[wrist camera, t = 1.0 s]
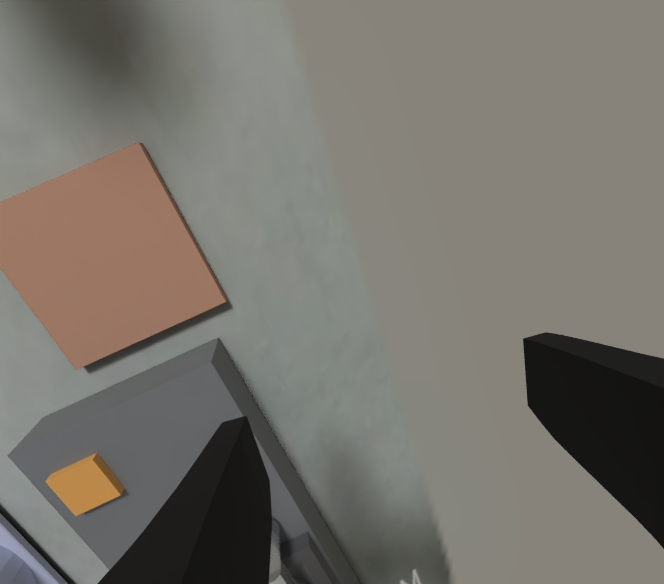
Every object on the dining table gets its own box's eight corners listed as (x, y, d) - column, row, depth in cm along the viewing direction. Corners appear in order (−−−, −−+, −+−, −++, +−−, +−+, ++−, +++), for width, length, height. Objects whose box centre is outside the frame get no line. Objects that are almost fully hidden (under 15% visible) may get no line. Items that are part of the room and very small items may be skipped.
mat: (81, 364, 17) (75, 370, 16) (-27, 216, 15) (-37, 218, 14) (227, 298, 17) (226, 301, 17) (142, 143, 15) (138, 142, 14)
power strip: (245, 665, 24) (242, 739, 21) (42, 417, 17) (-7, 470, 14) (371, 603, 24) (387, 667, 21) (218, 337, 18) (208, 371, 14)
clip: (326, 648, 21) (332, 696, 19) (189, 448, 16) (179, 484, 14) (349, 636, 21) (358, 683, 19) (221, 433, 16) (214, 468, 14)
